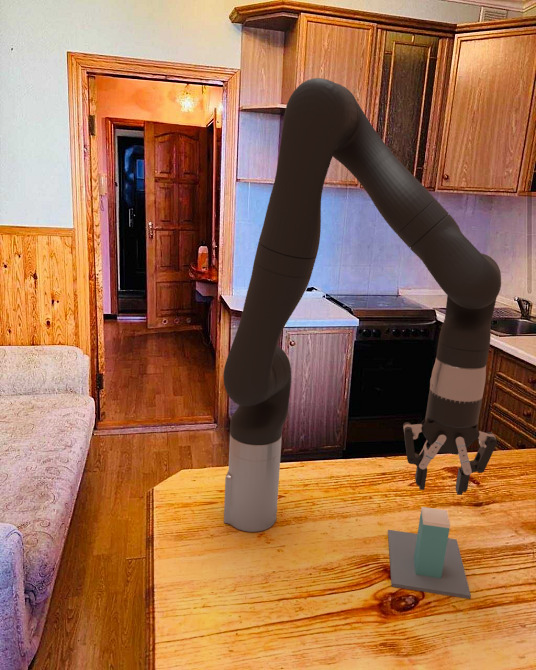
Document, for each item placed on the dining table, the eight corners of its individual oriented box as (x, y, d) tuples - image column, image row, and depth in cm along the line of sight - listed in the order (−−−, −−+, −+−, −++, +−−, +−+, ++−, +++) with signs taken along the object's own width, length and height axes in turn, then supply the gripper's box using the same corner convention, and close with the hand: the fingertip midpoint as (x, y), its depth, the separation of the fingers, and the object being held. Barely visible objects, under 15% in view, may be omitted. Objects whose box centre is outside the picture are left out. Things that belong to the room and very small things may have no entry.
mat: (391, 586, 89) (391, 583, 89) (387, 532, 103) (388, 529, 102) (470, 598, 88) (470, 595, 87) (456, 542, 101) (456, 539, 101)
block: (415, 574, 91) (423, 521, 88) (413, 558, 95) (421, 506, 92) (441, 578, 91) (450, 524, 88) (438, 562, 95) (446, 510, 92)
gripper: (408, 393, 81) (394, 496, 86) (513, 405, 79) (492, 509, 84) (405, 375, 88) (392, 471, 93) (500, 385, 86) (482, 483, 91)
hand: (440, 489), depth 89 cm, fingers open, 5 cm apart
